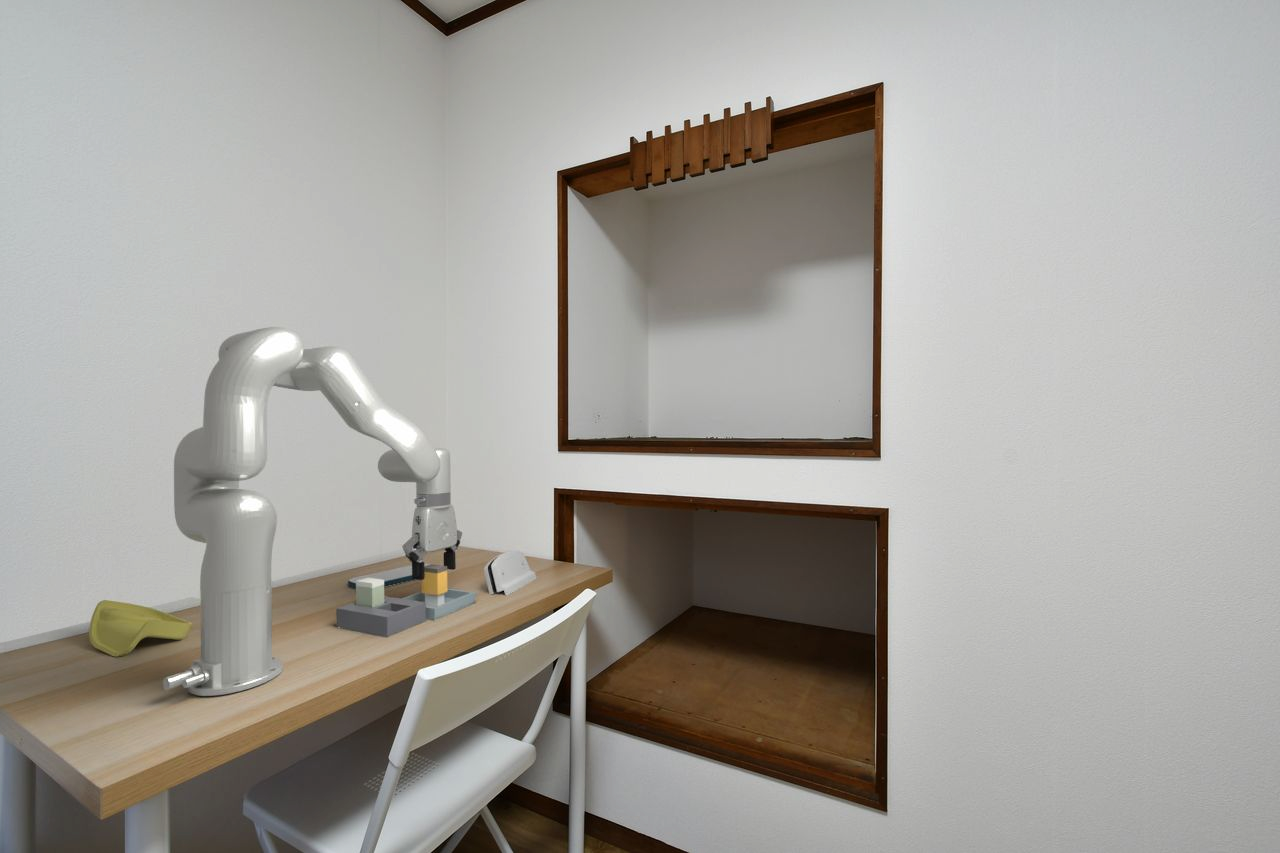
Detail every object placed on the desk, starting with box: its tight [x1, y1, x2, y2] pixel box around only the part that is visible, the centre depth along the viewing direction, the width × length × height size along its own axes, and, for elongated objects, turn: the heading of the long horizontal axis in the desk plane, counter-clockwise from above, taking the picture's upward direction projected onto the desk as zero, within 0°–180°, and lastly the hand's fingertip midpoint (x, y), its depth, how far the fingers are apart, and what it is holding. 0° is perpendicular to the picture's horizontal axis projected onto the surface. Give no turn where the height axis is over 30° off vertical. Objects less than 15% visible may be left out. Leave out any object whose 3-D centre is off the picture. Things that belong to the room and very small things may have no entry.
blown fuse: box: [421, 563, 448, 607], centre depth 125 cm, size 3×5×9 cm, turn 65°
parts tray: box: [401, 587, 477, 621], centre depth 125 cm, size 13×13×2 cm
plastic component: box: [88, 599, 193, 658], centre depth 108 cm, size 20×7×10 cm
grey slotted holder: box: [483, 550, 538, 596], centre depth 143 cm, size 17×5×10 cm, turn 164°
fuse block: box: [335, 578, 427, 638], centre depth 115 cm, size 10×15×9 cm, turn 66°
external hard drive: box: [347, 562, 431, 590], centre depth 152 cm, size 24×12×2 cm, turn 142°
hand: (434, 573), depth 125 cm, fingers open, 9 cm apart
